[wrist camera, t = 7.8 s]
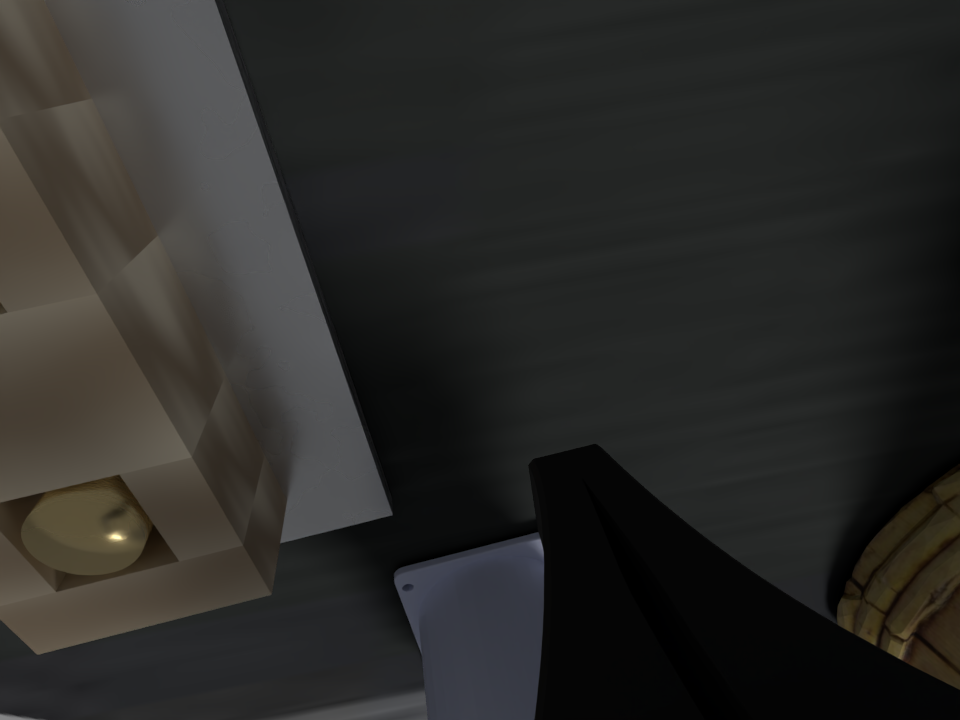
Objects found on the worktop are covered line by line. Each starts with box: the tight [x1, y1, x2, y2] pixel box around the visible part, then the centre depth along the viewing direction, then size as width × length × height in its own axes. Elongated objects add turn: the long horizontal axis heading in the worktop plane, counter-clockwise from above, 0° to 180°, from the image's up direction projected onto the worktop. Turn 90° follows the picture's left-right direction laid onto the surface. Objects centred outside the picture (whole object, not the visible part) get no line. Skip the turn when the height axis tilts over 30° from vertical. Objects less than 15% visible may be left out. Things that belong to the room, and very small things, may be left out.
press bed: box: [44, 0, 393, 543], centre depth 16 cm, size 20×14×1 cm
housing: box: [0, 0, 287, 655], centre depth 14 cm, size 16×7×4 cm, turn 9°
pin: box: [21, 475, 154, 575], centre depth 16 cm, size 3×3×4 cm
